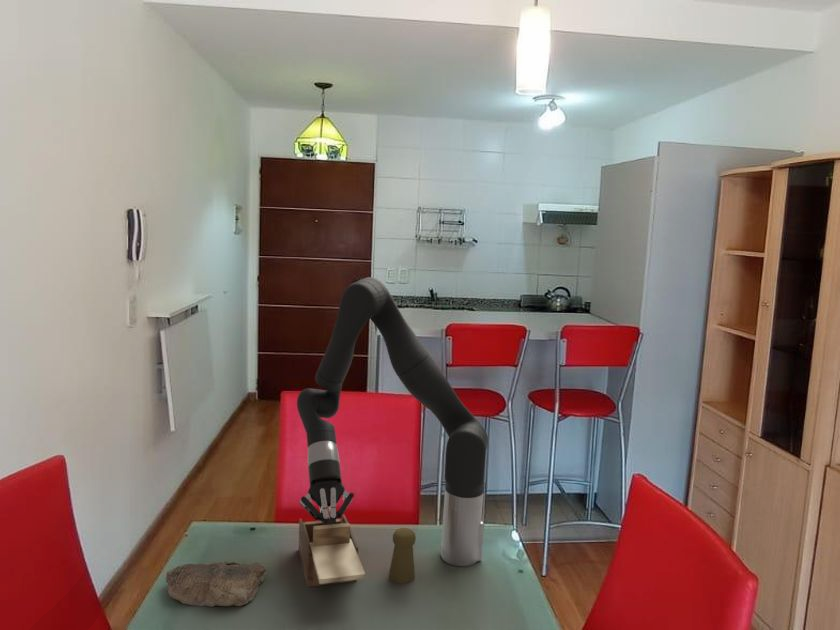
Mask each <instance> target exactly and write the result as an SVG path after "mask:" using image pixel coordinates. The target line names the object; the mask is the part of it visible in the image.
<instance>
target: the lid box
mask: <svg viewBox="0 0 840 630" xmlns="http://www.w3.org/2000/svg"><path fill="white" fill-rule="evenodd" d="M298 523H299V525H298V554H299V558H300V562H301V567H302V570H303V575H304V579H305V583H306V586H307V588H310V587H319V586H328V585H335V584H336V585H337V584H343V583H351V582H353V583H354V582H358V579H357V580H349V581H341V582H332V583H324V584H319V580H318V577H317V573H316V569H315V566H314V562H313V558H312V555H311V551H310V547H309V544H310V543H312V542H313V526H320V525H323V523H322V521H321V520H315V521H313V520H312V521H303V520H302V518H299V520H298ZM342 523H349V521H348V519H347V517H346V515H345V514H343V515H342V518H337V519H336V524H342ZM350 539H351V540H352V542H353V545H354V547H355V550H356V552H357V555H358V556H359V546H358V543H357V542H356V541H357V540H356V539H355V537H354V534H353V532H352V529H351V528H350Z"/></svg>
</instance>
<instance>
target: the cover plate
mask: <svg viewBox="0 0 840 630" xmlns="http://www.w3.org/2000/svg"><path fill="white" fill-rule="evenodd" d="M350 529H351V524H350V522H348V523H342V524H331V525H320V526H313V542H312V543H310V544H309V547H310V551H311V555H312V558H313V562H314V566H315V569H316V573H317V577H318V580H319V584H324V583H332V582H341V581H349V580H357V581H358V580H364V579H366V572H365V570H364V567H363V565H362V562H361V560H360V557H359V554H358V555H357V552H356V550H355V547H354V545H353V542H352V540H351V539H350Z"/></svg>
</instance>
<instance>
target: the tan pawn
mask: <svg viewBox="0 0 840 630" xmlns="http://www.w3.org/2000/svg"><path fill="white" fill-rule="evenodd" d="M416 538H417V537H416V534H415V532H414V530H412V529H411V528H409V527H408V528H407V527H400V528H397V529H395V530H394V532H393V533H392V543H393V544H394V546H393V551H392V556H391V562H390V567H389V572H388V577H389V579H390V580H391V581H392V582H394V583H398V584H408V583H411V582H413V581H414V580H415V578H416V572H415V558H414V547H413V546H414V544H416V543H415V542H416Z"/></svg>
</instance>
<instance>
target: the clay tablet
mask: <svg viewBox="0 0 840 630" xmlns="http://www.w3.org/2000/svg"><path fill="white" fill-rule="evenodd" d="M266 571H267V568H266V566H265V565H262V564H261V563H258V562H254V563H237V562H234V561H230V562H229V561H224V562H210V563H186V564H183V565H179V566H177V567H175V568H173V569H170V570H168V571H167V572H166V577H165V580H166V581H165V582H166V584H167V585H166V590H167V593H168V595H169V596H170V597H171V598H172V599H174V600H176V601H179V602H180V603H181V604H183V605H188V606H195V607H205V606H207V607H209V608H211V607H215V606H218V607H219V606H220V607H230V606H236V607H240V606H244V605H248V603H249V602H252V601H253V600H254V598H255V597H256V595H257V594H258V591H259V589H260V588H259V585H260V584H262V583H263V582H264V580H265V578H266V576H267V575H266Z"/></svg>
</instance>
